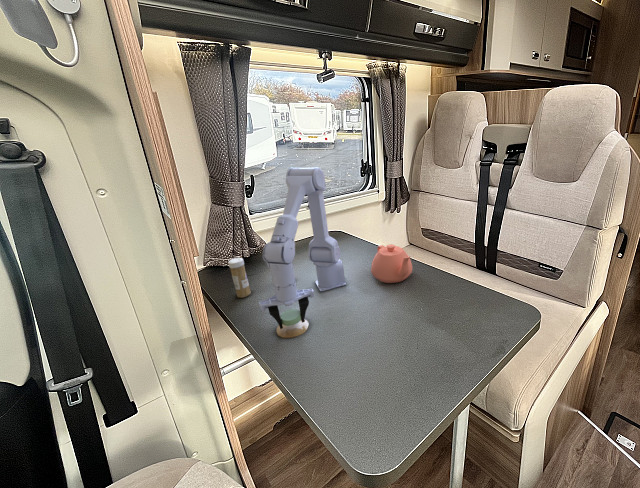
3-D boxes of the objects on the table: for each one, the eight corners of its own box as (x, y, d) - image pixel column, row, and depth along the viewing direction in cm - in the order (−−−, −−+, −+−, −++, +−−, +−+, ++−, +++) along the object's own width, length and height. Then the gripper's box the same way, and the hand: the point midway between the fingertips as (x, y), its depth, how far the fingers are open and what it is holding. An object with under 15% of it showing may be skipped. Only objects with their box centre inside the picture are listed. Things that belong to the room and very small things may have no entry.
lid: (282, 328, 88) (281, 322, 87) (280, 317, 93) (279, 312, 92) (303, 322, 90) (302, 317, 90) (299, 312, 95) (298, 307, 94)
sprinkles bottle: (252, 295, 110) (244, 260, 105) (237, 299, 108) (229, 264, 103) (249, 289, 114) (241, 256, 109) (235, 293, 111) (227, 259, 107)
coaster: (305, 315, 98) (305, 314, 98) (311, 331, 91) (311, 330, 90) (274, 324, 94) (274, 323, 94) (278, 342, 87) (278, 341, 87)
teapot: (427, 282, 115) (427, 250, 111) (391, 295, 107) (389, 262, 103) (395, 261, 132) (394, 233, 128) (361, 271, 125) (359, 242, 120)
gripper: (257, 296, 81) (266, 339, 86) (314, 282, 87) (320, 323, 92) (255, 284, 87) (264, 325, 91) (308, 271, 93) (314, 311, 97)
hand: (292, 323), depth 92 cm, fingers closed on lid, 5 cm apart
